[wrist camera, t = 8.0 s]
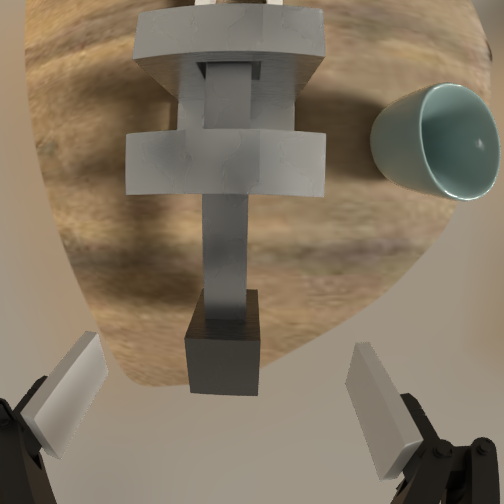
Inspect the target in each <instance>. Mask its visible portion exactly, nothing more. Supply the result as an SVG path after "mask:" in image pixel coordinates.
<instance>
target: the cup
mask: <svg viewBox="0 0 504 504" xmlns="http://www.w3.org/2000/svg"><path fill="white" fill-rule="evenodd" d="M370 149H371V154H372V157H373V160H374V162H375V164H376V166H377V168H378V169H379V171H380V172H381V173H382V175H383V176H384V177H386V178H387V179H388V180H389V181H391V182H392V183H394V184H396V185H398V186H400V187H402V188H405V189H407V190H411V191H414V192H417V193H421V194H425V195H429V196H434V197H438V198H443V199H448V200H455V201H471V200H476V199H478V198H480V197H482V196H484V195H485V194H486V193H487V192H488V191H489V190H490V189H491V188H492V186H493V185H494V183H495V180H496V178H497V175H498V172H499V167H500V158H501V157H500V155H501V154H500V140H499V134H498V130H497V126H496V123H495V121H494V118H493V115H492V114H491V112H490V110H489V108H488V106H487V105H486V104H485V103H484V101H483V100H482V99H481V98H480V97H479V96H478V95H477V94H476V93H474V92H473V91H471V90H470V89H468V88H466V87H465V86H462V85H459V84H456V83H448V82H445V83H437V84H433V85H430V86H427V87H424V88H422V89H419V90H417V91H414V92H412V93H410V94H408V95H405V96H403V97H401V98H399V99H397V100H395V101H393V102H392V103H390V104H389V105H387V106H386V107H385V108H384V109H383V110H382V111H380V112H379V114H378V115H377V117H376V118H375V120H374V122H373V125H372V128H371V132H370Z"/></svg>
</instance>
